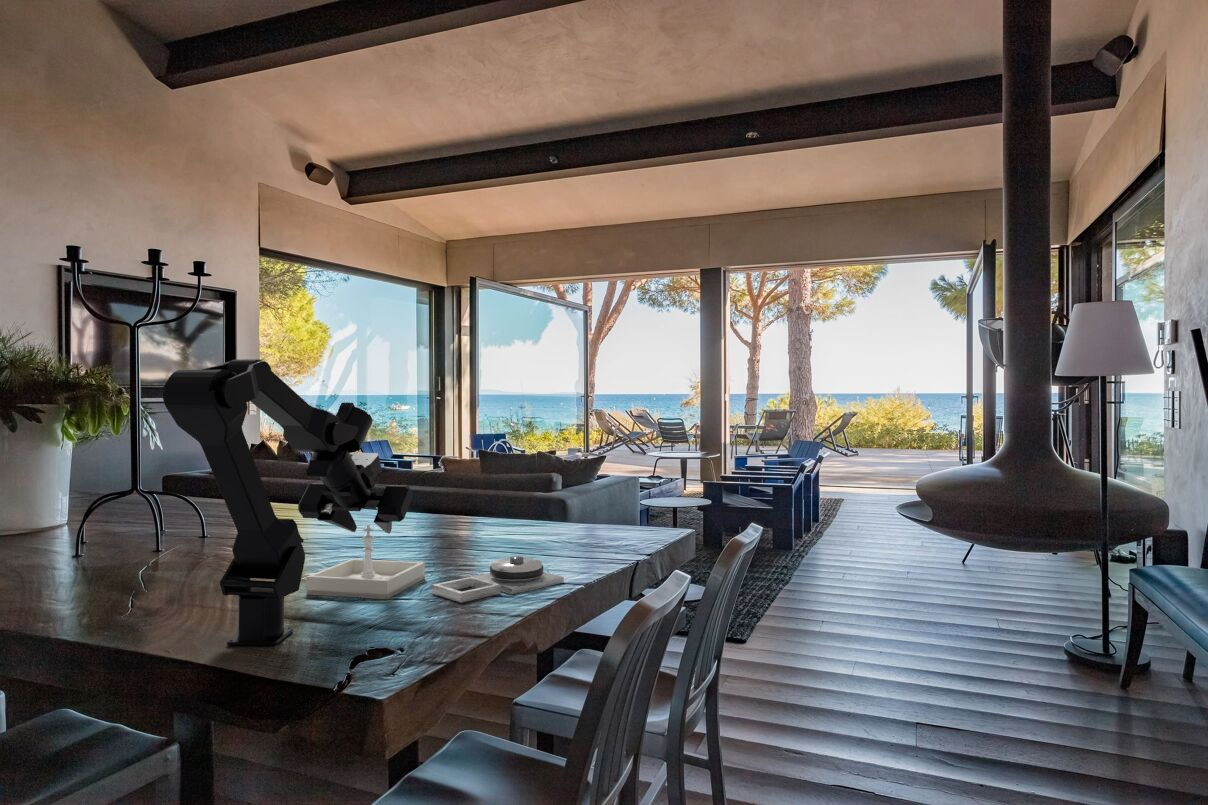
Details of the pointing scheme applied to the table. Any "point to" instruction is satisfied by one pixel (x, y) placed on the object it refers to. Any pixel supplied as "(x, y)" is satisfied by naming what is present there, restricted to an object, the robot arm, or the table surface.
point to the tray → (346, 585)
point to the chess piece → (368, 556)
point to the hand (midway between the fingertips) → (372, 530)
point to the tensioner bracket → (499, 580)
